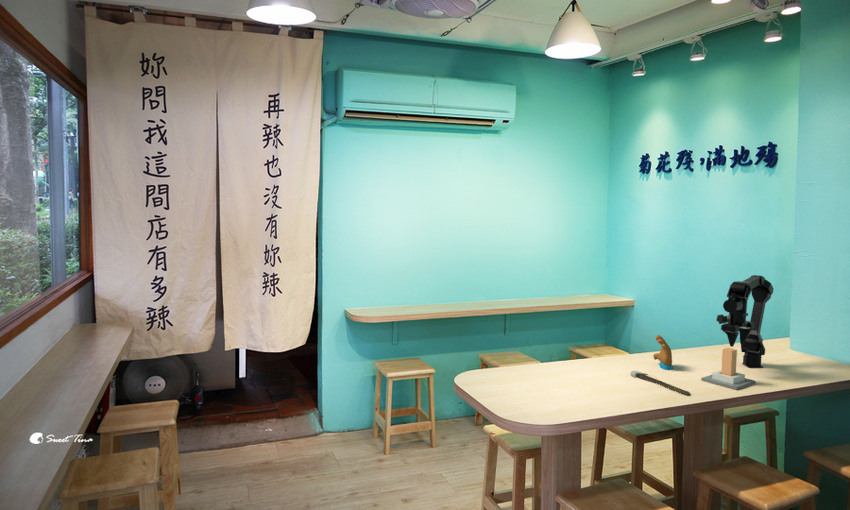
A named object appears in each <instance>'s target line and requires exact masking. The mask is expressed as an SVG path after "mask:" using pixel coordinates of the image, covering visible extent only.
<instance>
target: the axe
mask: <svg viewBox="0 0 850 510" xmlns="http://www.w3.org/2000/svg"><path fill="white" fill-rule="evenodd" d="M646 373H647V372H646ZM646 373H644V372H641V371H638V370H631V371H630V377H633V378H635V377H639V379H642V380H644V379H645V380H644V381H647V380H648V382H650V381H651V383H653V382H654V384H656V383H657V384H656V385H659V384H660V386H661V385H662V386H661V387H663V386H664V387H663V388H666V389H668V388H669V389H668V390H670V389H671V390H670V391H672V390H673V392H675V391H676V392H675V393H677V392H678V394H680V393H681V394H680V395H683V394H684V395H683V396H686V395H687V397H689V396H690V395H691V392H689V391H688V390H685V389H682V388H679V387H677V386H675V385H672V384H670V383H667V382H665V381H662V380H659V379H657V378H654V377H652V376H646V375H648V374H649V373H647V374H646Z"/></svg>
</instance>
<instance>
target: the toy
mask: <svg viewBox="0 0 850 510" xmlns="http://www.w3.org/2000/svg"><path fill="white" fill-rule="evenodd" d="M655 340H656V341H657V343H658V344H659V345H660V348H661V349H660V351H659V353H654V354H653V360H655V361H656V360H658V361H659V363H658V364H659V368H660V369H662V370H664V371H671V370H672V369H673V368H672V367H673V355H672V349H671V347H670V345H669V344H668V343H667V342H666V341H665V339H664V338H663V337H662V336H661V335H659V334H657V335H656V336H655Z"/></svg>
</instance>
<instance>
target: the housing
mask: <svg viewBox="0 0 850 510" xmlns="http://www.w3.org/2000/svg"><path fill="white" fill-rule="evenodd" d="M721 372H722V369H720V370H718V371H714V372H712V374H710V375H706V376H704V377H703V376H702V377H701V378H700V379H701V381H702V382H704V383H705V382H706V383H709V384H712V385H715V386H719V385H720V386H719V387H724V388H726V389H730V388H731V390H734V389H735V390H734V391H738V390H741V389H744V388H747V387H749V385H750V386H752V384H753V385H755V384H756V380H754V379H749V378H745V376H746V374H745V373H741V372H737V371H736V375H735V376H732V377H731V376H727V375H724V374H721ZM743 387H744V388H743Z"/></svg>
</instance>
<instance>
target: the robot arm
mask: <svg viewBox="0 0 850 510" xmlns="http://www.w3.org/2000/svg"><path fill="white" fill-rule="evenodd" d="M773 293H774V286H773V285H772V283H771V282H770V281H769V280H767V279H766V278H765V276H763V275H757V274H752V275H751V276H749V277H748V278H746V279H744V280H743V281H739V280H738V281H737V280H736V281H732V283H731V284H730V286H729V289H728V291H727V293H726V298H728V299H726V300H725V301H724V302H723V305H722V307H723V309H724V311H725V312H726V313H728V315H724V314H718V315H717V316H716V322H718V324H719V325H721V324H722V325H721V326H720V331H722V332H723V333H725V334H726V336H727V340H728V344H729V346H730V347H732V348H733V347H734V345H735V344H736V341H737V339H738V336H739V343H740V349H741V350H740V351H741V353H744V354H743V355H742V363H741V365H743V366H745V367H747V368H753V369H754V368H755V369H756V368H757V369H758V368H760V369H762V368H764V366H762V356H765V355H766V347H765V346H764V343H763V341H764V340H763V337H762V335H761V330H762V326H763V325H762V324H763V319H764V314H765V308H766V304H767V302H769V301H770V300H771V298H772V295H773ZM750 296H752V299H753V304H752V305H753V306H752V311H751V317H750V320H747V316H749V313H748V312H747V310H748V300H749V297H750Z"/></svg>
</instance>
